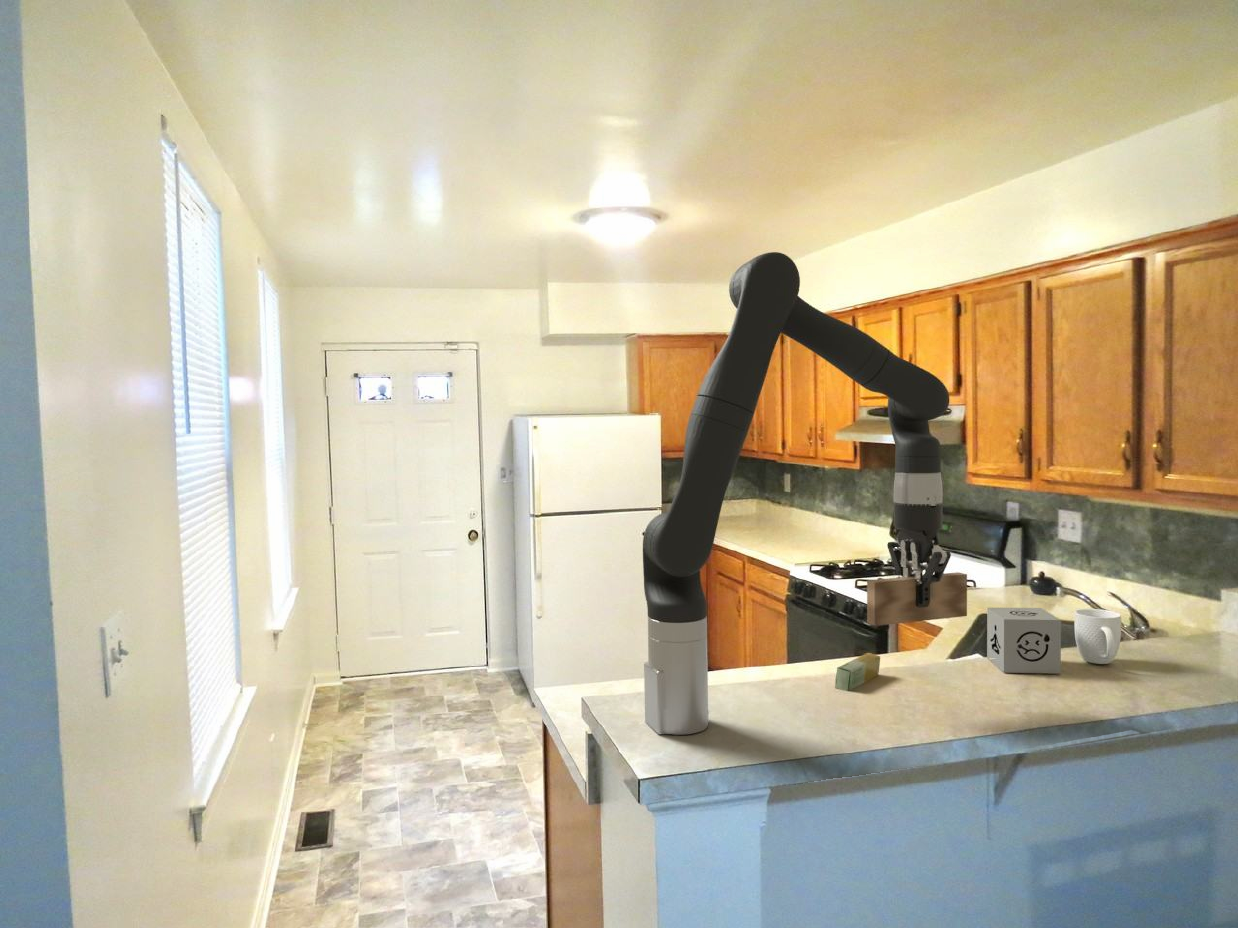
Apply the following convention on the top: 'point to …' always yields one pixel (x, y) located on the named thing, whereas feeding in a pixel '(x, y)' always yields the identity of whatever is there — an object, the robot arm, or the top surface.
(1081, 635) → the mug
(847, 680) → the medication box
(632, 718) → the top surface
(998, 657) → the icon cube
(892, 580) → the walnut screen
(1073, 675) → the top surface
